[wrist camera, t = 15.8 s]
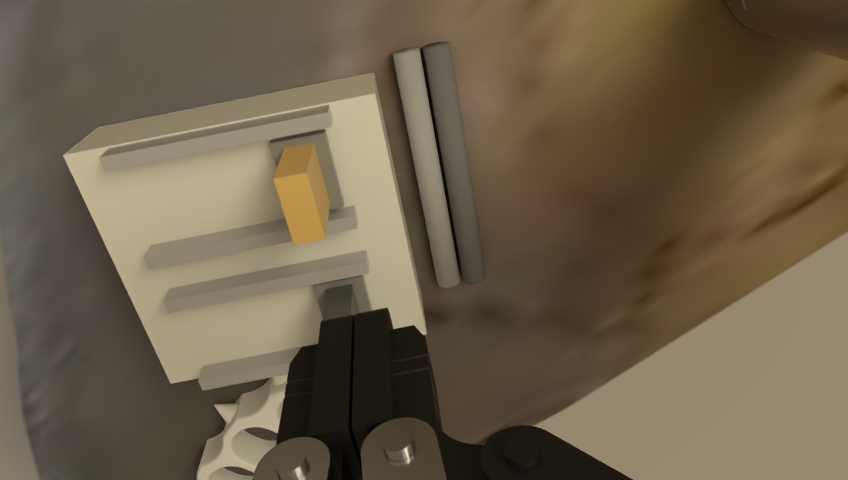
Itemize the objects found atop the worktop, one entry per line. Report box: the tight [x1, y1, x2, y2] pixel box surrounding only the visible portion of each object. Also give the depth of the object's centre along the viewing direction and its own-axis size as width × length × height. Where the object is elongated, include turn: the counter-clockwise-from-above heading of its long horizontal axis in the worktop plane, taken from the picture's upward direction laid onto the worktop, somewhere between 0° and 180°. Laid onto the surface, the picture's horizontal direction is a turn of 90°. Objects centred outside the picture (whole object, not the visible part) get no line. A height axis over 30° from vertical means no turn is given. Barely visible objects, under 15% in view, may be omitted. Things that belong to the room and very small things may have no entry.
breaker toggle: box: [269, 129, 344, 245], centre depth 33 cm, size 3×4×5 cm
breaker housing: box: [63, 72, 427, 391], centre depth 39 cm, size 17×16×6 cm
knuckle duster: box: [197, 374, 288, 480], centre depth 49 cm, size 3×18×15 cm
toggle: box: [313, 275, 372, 320], centre depth 37 cm, size 3×4×5 cm
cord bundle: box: [392, 42, 486, 288], centre depth 41 cm, size 3×16×2 cm, turn 10°
